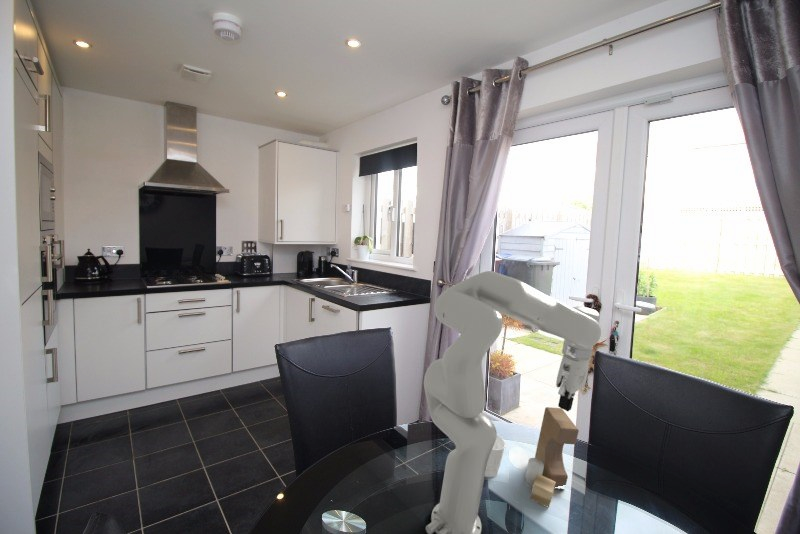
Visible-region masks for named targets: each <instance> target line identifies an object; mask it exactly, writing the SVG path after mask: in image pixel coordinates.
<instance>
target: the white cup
mask: <svg viewBox="0 0 800 534" xmlns="http://www.w3.org/2000/svg"><path fill="white" fill-rule="evenodd" d="M505 448H506V441H505V440H504V439H503V438H502V437H501V435H498V434H497V437H496V441H495V444H494V446H493V448H492V451H491V453H490V456H489V459H488V462H487V466H486V471H485V476H484V478H485V477H486V478H494V477H497V475H498V473H499V469H500V466H501V463H502V461H503V460H502V459H503V456H504V452H505Z"/></svg>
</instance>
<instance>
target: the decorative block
mask: <svg viewBox="0 0 800 534" xmlns="http://www.w3.org/2000/svg"><path fill="white" fill-rule="evenodd" d="M579 432H580V431H579V429H578V427H577V426H576V425H575V423H574V422H573V421H572V419H571V418H570V417H569V415H568V414H567V413H566V412H565V410H564V409H562V408H560V407H549V406H547V407H545V408H544V413H543V418H542V422H541V426H540V431H539V435H538V436H539V437H538V441H537V444H536V445H537V446H536V450H535V455H534V458H536V459H539V460H541V461H542V462H543V464H544V469H543V473H542V476H544V477H546V478H549V479H551V480H553V481H555V482H556V484H555V487H558V486H563V485H567V481H568V477H569V475H568V474H567V471H566V468H565V463H564V458H563V457H564V456H563V452H564V447H565V445H576V444H577V441H578V435H579Z"/></svg>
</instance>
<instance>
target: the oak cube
mask: <svg viewBox="0 0 800 534" xmlns="http://www.w3.org/2000/svg"><path fill="white" fill-rule="evenodd" d="M555 484H556V482H555V481H553V480H551V479H549V478H546V477H544V476H542V475H540V474H537V477H536V479H535V481H534V484H533V486H532V488H531V489H532V490H531V494H530V500H532V501H534V502H536V503H538V504H540V505H542V504H543V505H542V506H544V505H545V506H544V507H546V506H548V507H549V508H550V505H551V502H552V500H551V499H553V497H552V496H554V492H555V489H554V488H555ZM548 507H547V508H548Z"/></svg>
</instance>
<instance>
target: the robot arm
mask: <svg viewBox="0 0 800 534" xmlns="http://www.w3.org/2000/svg"><path fill="white" fill-rule="evenodd" d="M433 309H434V310H433V311H434V314H435V317H436V319H437V320H438V321H439V322H440V323H441V324H442V325H444V326H446V327H448V328H450V329H451V330H453V331H455V332H456V333H458V334H459V335H458V337H457V338H456V339H455V340H454V341H453V342H452V344H451V345H450V346H448V347H447V348H446V350H444V352H443V355H442V358H438V359H436V360H434V361H433V362H431V364H430V365H429V366H428V367H427V369H426V372H425V373H424V378H423V379H424V380H423V386H424V387H423V389H424V393H425V398H426V403H427V407H428V412H429V416H430V418H431V420H432V422H433V424H434V425H435V426H436V427H437V428H438V429H439V430H440V431H441V433H444V434H445V436H446V437H448V438H449V439H450V440H451V441H452V443H453V444H454V446H455V448H454V449H452V450H451V451H450V452H449V453H448V454H447V457H446V461H445V466H444V472H443V473H444V474H443V480H442V485H441V492H440V499H439V502H438V503H437V504H436V505H435V506H434V507H433V509H432V512H431V517H430V520H431V522H430V523H429V524H427V525H426V526H425V531H426V533H427V534H434V533H435V534H482V528H483V526H482V522H481V517H479V515H478V513H479V509H480V503H481V500H482V499H481V498H482V492H483V486H484V482H485V471H486V466H487V462H488V459H489V456H490V453H491V451H492V448H493V446H494V444H495V441H496V437H497V435H498V432H497V428H496V426H495V424H494V423H493V422H492V420H491V418H489V417H488V416H487V415H486V414H485V413H483V411H484V409H485V406H486V390H485V389H486V388H485V382H484V374H483V367H482V366H483V364H482V363H483V359H484V357H485V355H486V353H487V352H488V351H489V350H490V348H491V347H492V346H493V344H494V343H495V341H497V339H498V338H499V336H500V334H501V332H502V330H503V329H502V328H503V326H504V325H503V323H504V321H503V317H502V314H503V315H505V316H507V317H509V318H510V319H511V318H512V319H513V320H516V321H519V322H520V323H523V324H525V325H528V326H530V327H532V328H534V329H537V330H539V331H541V332H544V333H548V334H550V335H553V336H557V337H559V338H561V339H564V340H563V344H562V349H561V353H562V354H563V356H562V359H561V360H560V361H561V362H560V365H559V368H558V373H557V377H556V382H555V386H556V388H559V389H558V392H557V394H558V395H560V396H559V400H558V406H557V407H558V408H562V409H563V411H566V412H570V411H571V410H572V408H573V403H574V397H575V395H576V393H577V392H578V391H579V390H581V389H582V388H584V387H585V386H586V384H587V383H586V382H587V378H588V374H589V367H590V360H591V359H592V355H593V354H592V353H593V350H594V346H595V345H596V344H597V343H599V341H600V339H601V336H602V328H601V327H602V326H601V325H600V323H599V322H600V314H599V312H598V311H597V310H596V309H593V308H589V307H587V306H574V307H570V306H569V305H566V304H565V303H564V302H561V301H559V300H557V299H556V298H554V297H552V296H549V295H548V294H545V293H543V292H542V291H540V290H538V289H537V288H534V287H533V286H531V285H529V284H527V283H525V282H523V281H522V280H520V279H518V278H514V277H512V276H509V275H505V274H503V273H502V274H501V273H499V272H496V271H493V270H489V271H488V270H486V271H482V272H479V273H478V274H474V275H473V276H469V277H468V278H466V279H463V280H462V281H459V282H458V283H456V284H454V285H452V286H450V287H448V288H447V289H445V290H444V291H443V292H442V293H440V294H439V295H438V296H437V298H436V300H435V303H434V307H433Z"/></svg>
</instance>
